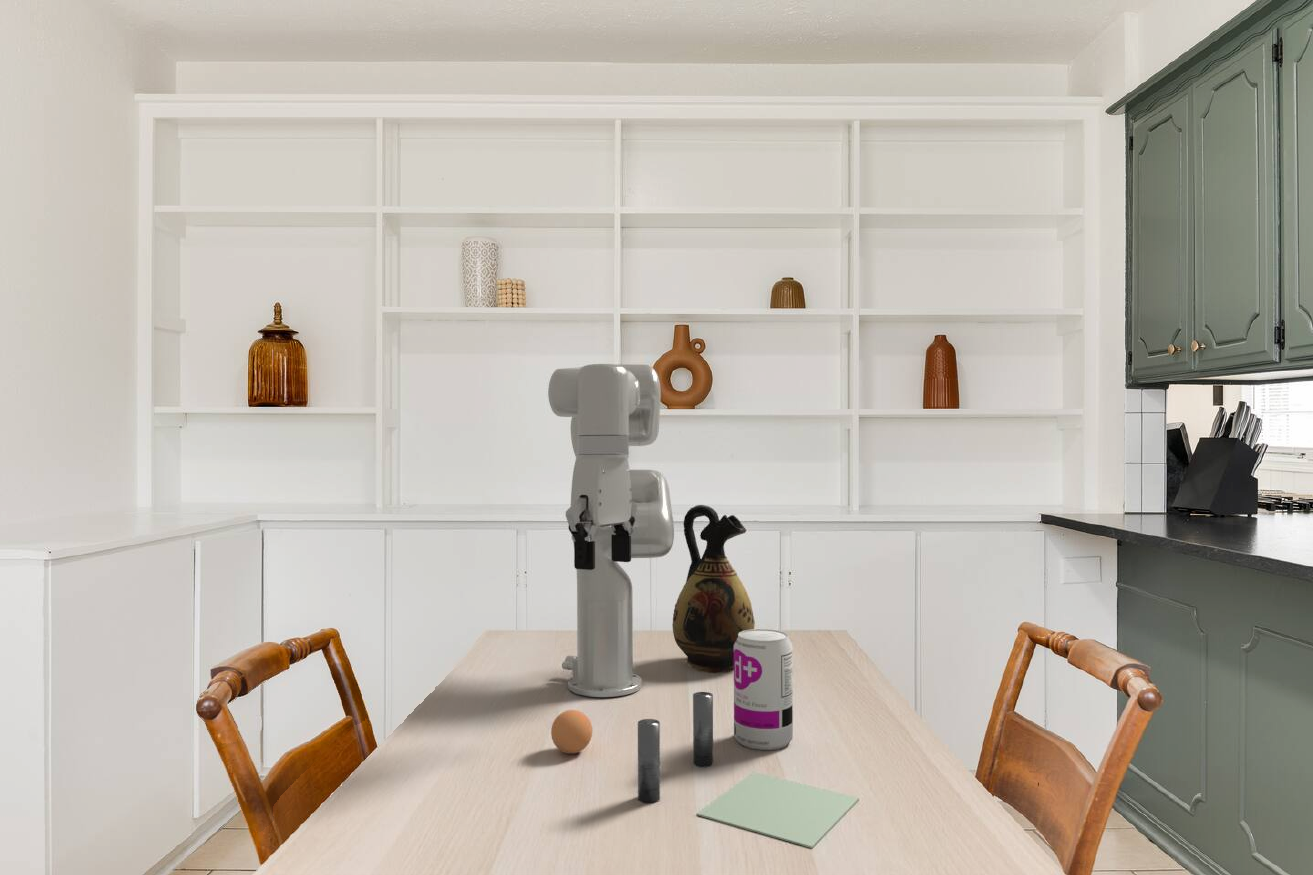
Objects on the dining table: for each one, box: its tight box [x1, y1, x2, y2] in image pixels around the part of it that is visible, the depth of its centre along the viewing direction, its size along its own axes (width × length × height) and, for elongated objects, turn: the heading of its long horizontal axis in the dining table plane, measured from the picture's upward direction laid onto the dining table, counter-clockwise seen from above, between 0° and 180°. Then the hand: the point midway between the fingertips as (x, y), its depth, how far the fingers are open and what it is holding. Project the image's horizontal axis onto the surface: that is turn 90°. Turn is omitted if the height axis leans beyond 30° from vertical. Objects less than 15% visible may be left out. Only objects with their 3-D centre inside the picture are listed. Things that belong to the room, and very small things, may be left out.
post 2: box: [692, 691, 714, 768], centre depth 110 cm, size 3×3×9 cm
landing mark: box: [696, 771, 860, 849], centre depth 97 cm, size 14×14×1 cm
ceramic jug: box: [672, 504, 756, 674], centre depth 157 cm, size 17×15×30 cm
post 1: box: [637, 718, 661, 804], centre depth 99 cm, size 3×3×9 cm
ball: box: [550, 709, 593, 754], centre depth 114 cm, size 6×6×6 cm
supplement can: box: [733, 628, 794, 751], centre depth 118 cm, size 8×8×15 cm
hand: (603, 565), depth 122 cm, fingers open, 9 cm apart
